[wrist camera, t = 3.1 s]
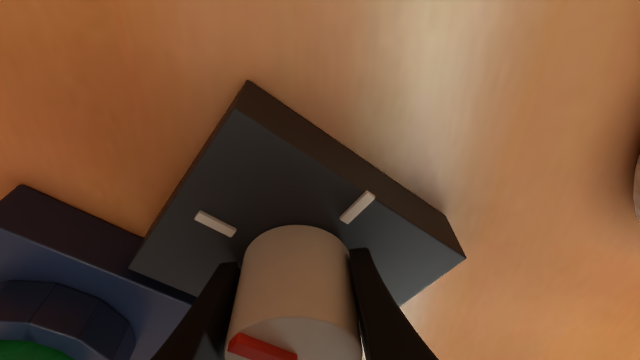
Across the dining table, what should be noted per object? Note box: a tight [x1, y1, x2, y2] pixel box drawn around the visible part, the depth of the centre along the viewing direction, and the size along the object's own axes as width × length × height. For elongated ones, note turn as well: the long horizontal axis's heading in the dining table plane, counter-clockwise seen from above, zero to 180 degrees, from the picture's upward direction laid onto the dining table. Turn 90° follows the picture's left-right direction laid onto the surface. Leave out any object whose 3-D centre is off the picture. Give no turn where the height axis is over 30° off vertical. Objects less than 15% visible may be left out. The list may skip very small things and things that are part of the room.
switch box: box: [0, 185, 197, 360], centre depth 16 cm, size 10×8×4 cm
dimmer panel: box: [128, 80, 466, 335], centre depth 14 cm, size 10×8×3 cm
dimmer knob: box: [224, 225, 362, 360], centre depth 11 cm, size 4×4×4 cm
